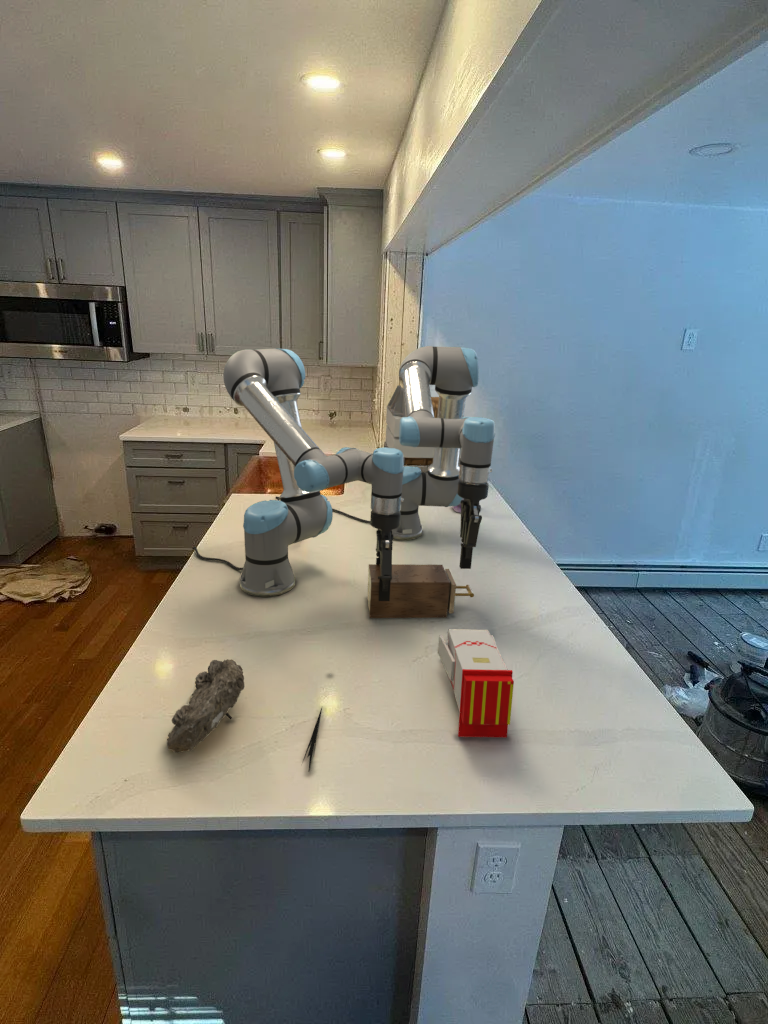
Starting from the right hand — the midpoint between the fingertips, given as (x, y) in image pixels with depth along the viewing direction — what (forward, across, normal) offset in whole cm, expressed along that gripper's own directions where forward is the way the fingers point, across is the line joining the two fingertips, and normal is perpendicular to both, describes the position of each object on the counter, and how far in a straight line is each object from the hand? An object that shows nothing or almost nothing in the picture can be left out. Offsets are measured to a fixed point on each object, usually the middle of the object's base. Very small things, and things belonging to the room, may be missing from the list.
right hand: (465, 567), depth 148 cm
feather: (+12, -43, +37) cm, 58 cm away
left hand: (+7, 0, +22) cm, 22 cm away
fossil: (+12, -41, +57) cm, 72 cm away
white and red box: (+12, -35, +6) cm, 38 cm away
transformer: (+12, +130, -8) cm, 131 cm away
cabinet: (+12, 0, +15) cm, 19 cm away
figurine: (+12, +78, -17) cm, 81 cm away
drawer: (+11, 0, +10) cm, 15 cm away
